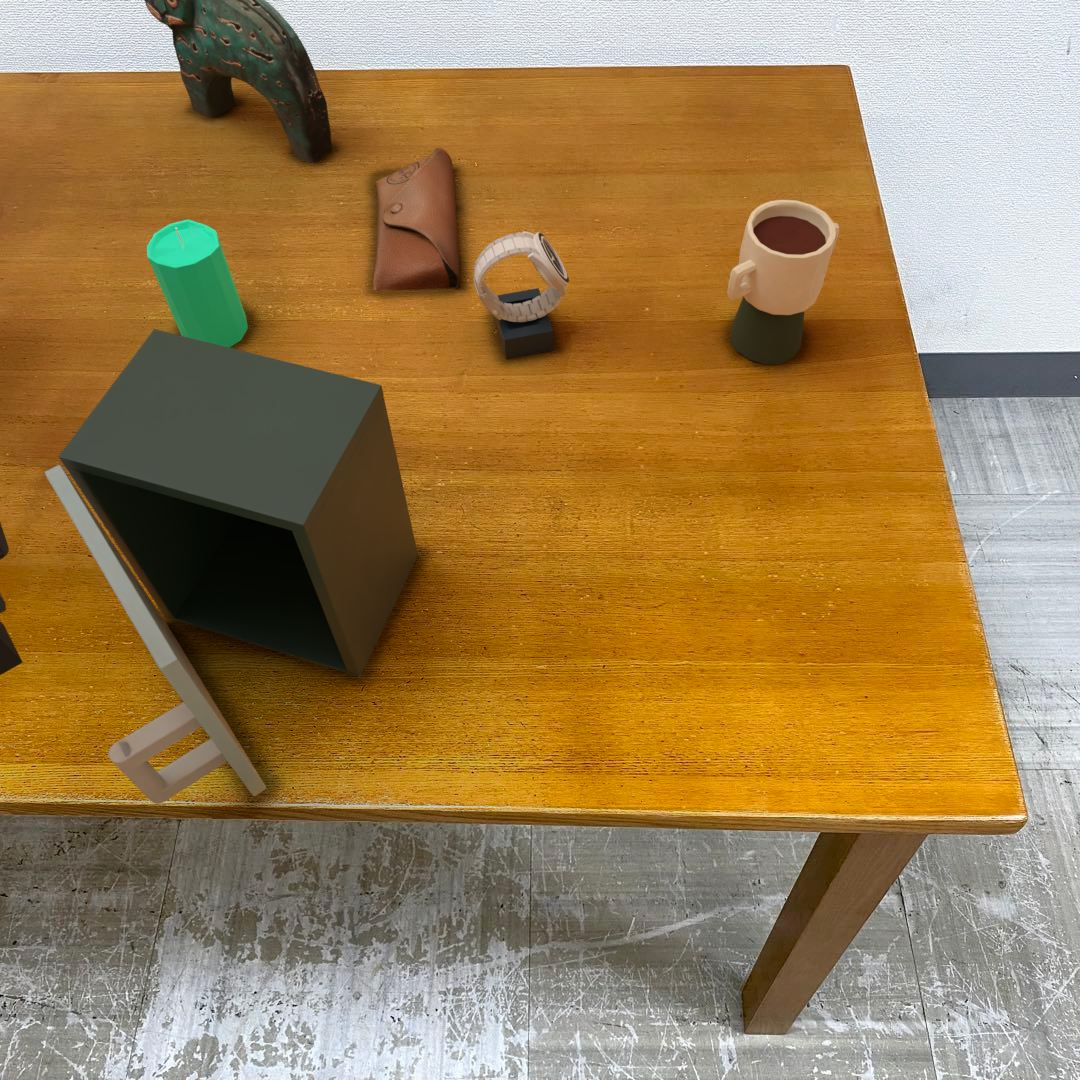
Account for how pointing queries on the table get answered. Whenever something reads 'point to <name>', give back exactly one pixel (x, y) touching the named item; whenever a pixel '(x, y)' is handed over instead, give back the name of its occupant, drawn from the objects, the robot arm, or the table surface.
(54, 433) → the table surface
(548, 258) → the watch
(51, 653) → the table surface
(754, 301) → the character mug
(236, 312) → the candle
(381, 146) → the table surface
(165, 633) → the cabinet door
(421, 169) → the sunglasses case
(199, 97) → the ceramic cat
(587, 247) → the table surface
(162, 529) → the cabinet
